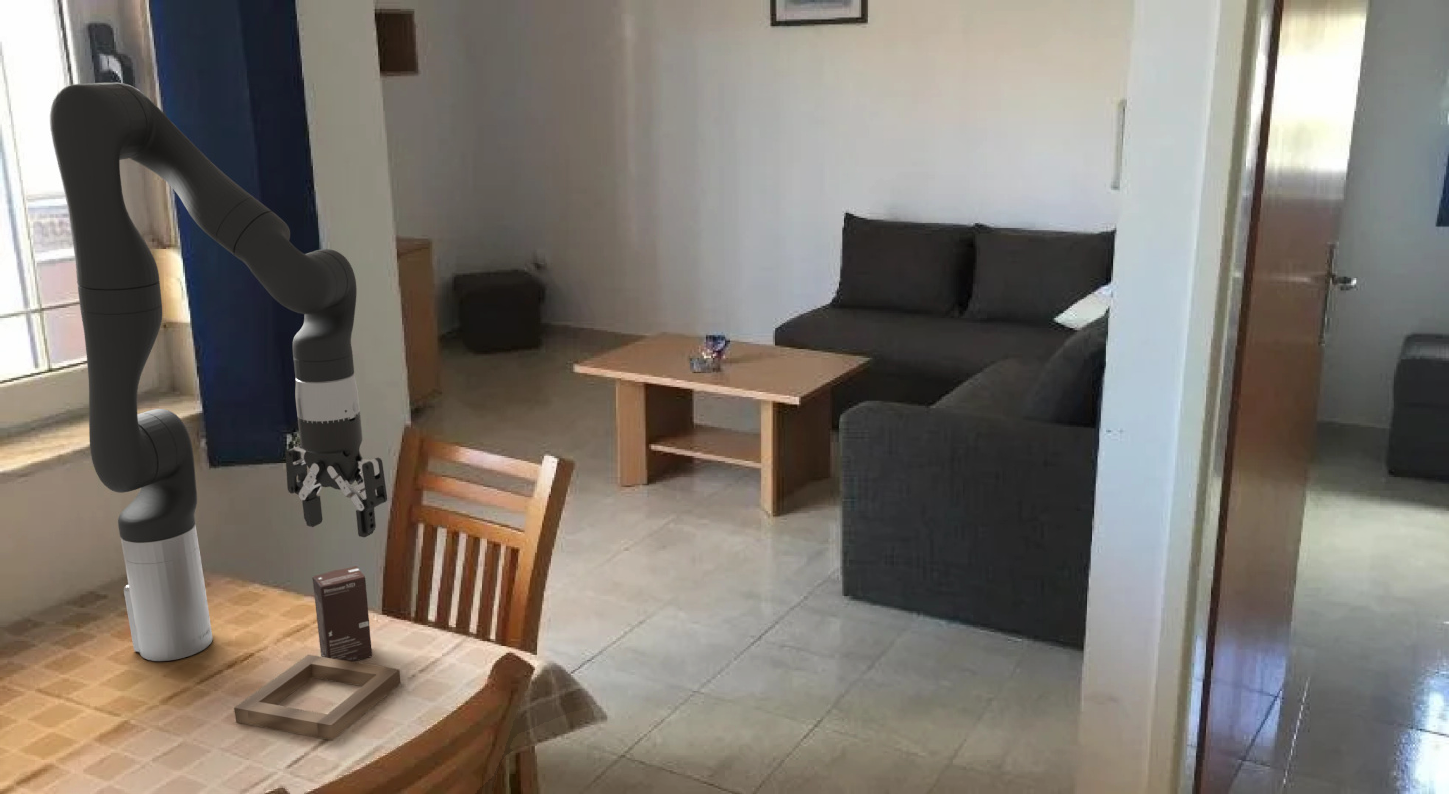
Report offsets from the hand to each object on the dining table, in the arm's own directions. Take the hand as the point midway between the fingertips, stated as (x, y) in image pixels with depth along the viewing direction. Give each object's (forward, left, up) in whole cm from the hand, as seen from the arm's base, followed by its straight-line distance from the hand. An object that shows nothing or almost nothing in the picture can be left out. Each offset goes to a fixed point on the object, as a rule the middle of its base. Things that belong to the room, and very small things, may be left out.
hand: (340, 530), depth 153 cm
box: (-1, 0, -19) cm, 19 cm away
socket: (+3, -11, -19) cm, 22 cm away
